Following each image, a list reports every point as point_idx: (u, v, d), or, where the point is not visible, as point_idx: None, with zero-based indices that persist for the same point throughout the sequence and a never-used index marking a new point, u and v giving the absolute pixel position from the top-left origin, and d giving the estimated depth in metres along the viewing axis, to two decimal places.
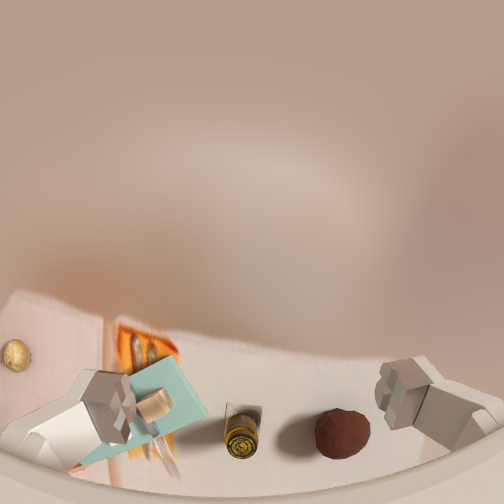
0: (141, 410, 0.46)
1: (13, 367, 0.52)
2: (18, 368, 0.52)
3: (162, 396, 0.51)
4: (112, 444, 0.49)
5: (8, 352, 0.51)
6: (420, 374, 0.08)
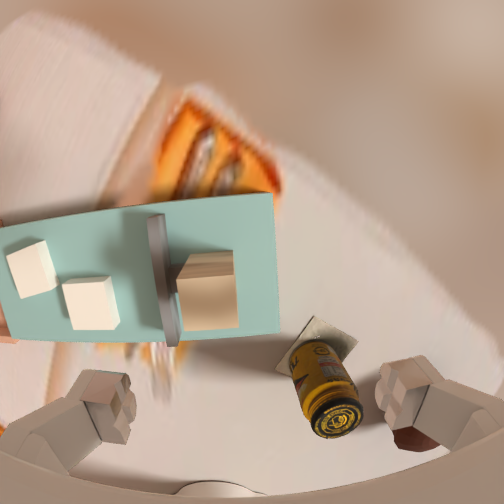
0: (184, 298, 0.21)
1: None
2: None
3: None
4: (76, 327, 0.28)
5: None
6: (420, 374, 0.08)
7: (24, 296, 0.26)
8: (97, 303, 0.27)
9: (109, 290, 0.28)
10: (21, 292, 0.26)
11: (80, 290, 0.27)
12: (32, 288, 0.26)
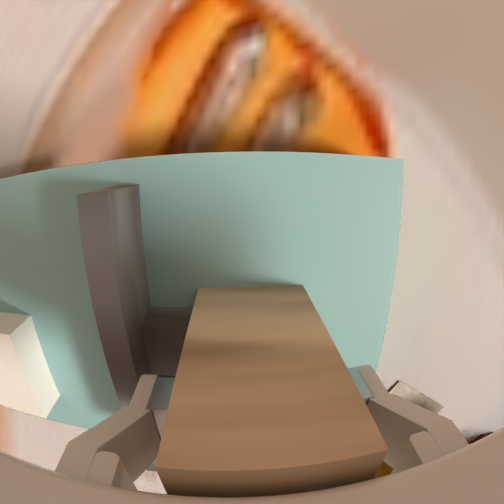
0: None
1: None
2: None
3: None
4: None
5: None
6: (360, 385, 0.08)
7: None
8: (8, 370, 0.10)
9: (27, 348, 0.11)
10: None
11: None
12: None
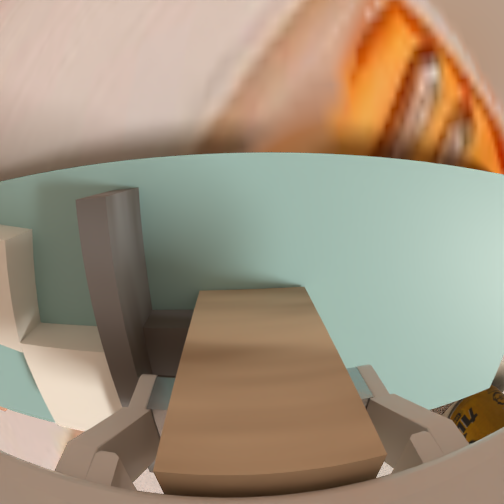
0: None
1: None
2: None
3: None
4: (62, 422, 0.11)
5: None
6: (360, 386, 0.08)
7: None
8: (105, 393, 0.11)
9: None
10: None
11: (62, 363, 0.10)
12: None
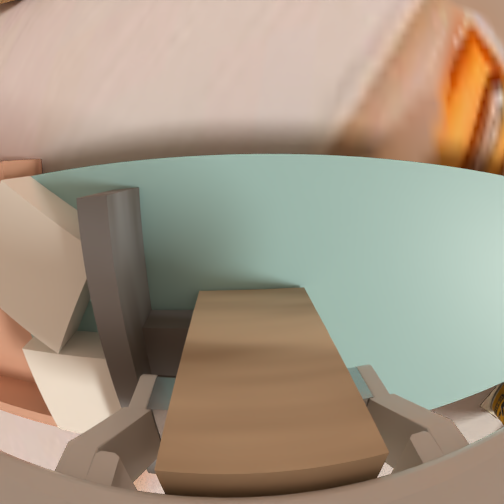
0: None
1: None
2: None
3: None
4: (64, 426, 0.11)
5: None
6: (361, 385, 0.08)
7: None
8: (106, 398, 0.11)
9: None
10: None
11: (64, 368, 0.10)
12: (14, 305, 0.09)
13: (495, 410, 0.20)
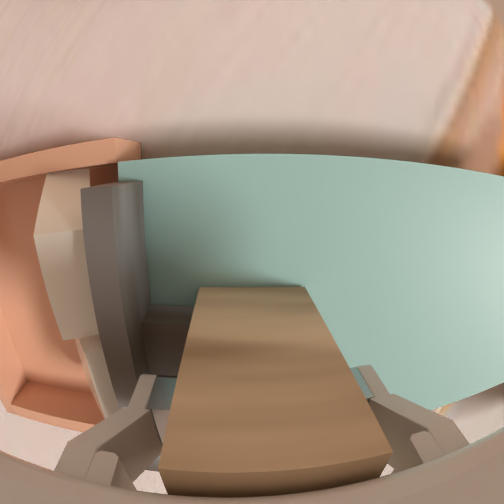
0: None
1: None
2: None
3: None
4: (87, 381, 0.15)
5: None
6: (361, 385, 0.08)
7: None
8: (90, 379, 0.12)
9: None
10: None
11: None
12: None
13: None
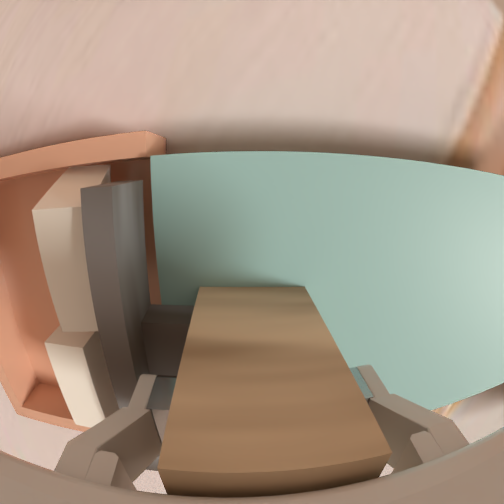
0: None
1: None
2: None
3: None
4: None
5: None
6: (361, 385, 0.08)
7: None
8: None
9: (68, 368, 0.11)
10: None
11: None
12: None
13: None
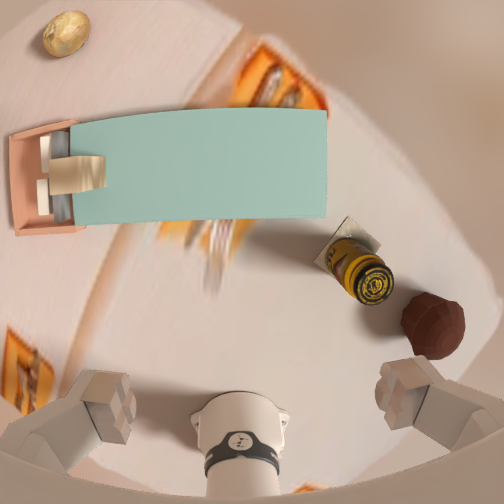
0: (51, 171, 0.28)
1: (52, 43, 0.29)
2: (59, 46, 0.30)
3: (92, 165, 0.32)
4: None
5: (58, 20, 0.27)
6: (420, 374, 0.08)
7: None
8: None
9: (41, 187, 0.34)
10: None
11: None
12: None
13: (328, 268, 0.44)
